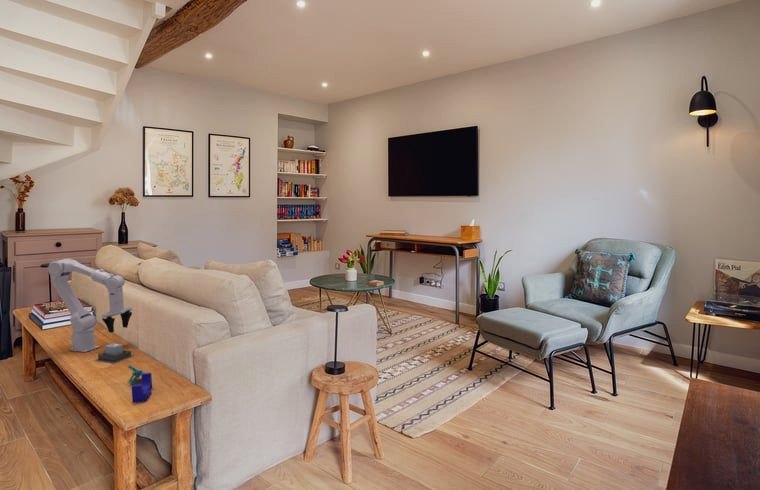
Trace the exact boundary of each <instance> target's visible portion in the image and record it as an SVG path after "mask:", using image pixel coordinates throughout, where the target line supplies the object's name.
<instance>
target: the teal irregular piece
mask: <svg viewBox="0 0 760 490" xmlns="http://www.w3.org/2000/svg"><path fill="white" fill-rule="evenodd" d="M127 367H128V368H129V369H130V370H132V375H131V376H130V377H129V379H128V380H129V385H131V386H133V385H134V383H135V382H136V381H137V380H138V379H139V378H140V377H141V376H142V374H143V373H144V371H143V370H141V369H136V368H135V367H134V366H132V365H128V366H127Z"/></svg>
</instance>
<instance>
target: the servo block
mask: <svg viewBox="0 0 760 490" xmlns="http://www.w3.org/2000/svg"><path fill="white" fill-rule="evenodd" d="M123 350H124V346H123V344H121V343H119V344H118V343H115V342H114V343H109V344H107V345H104V352H105V355H110V356H117V355H120V354H123Z"/></svg>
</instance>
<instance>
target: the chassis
mask: <svg viewBox="0 0 760 490" xmlns="http://www.w3.org/2000/svg"><path fill="white" fill-rule="evenodd" d="M131 352H132V351H130V350H127V349H126V350H124V349H123V354H120V355H117V356H110V355H105V351H104V352H101V353H99V354H97V357H98V358H97V359H95V360H94V361H95V362H101V363H106V364H111V365H112V364H114V365H115V364H117V363H119V362H122V361H125V360H127V359H130V358H132V357H134V356H135V355H134V354H132V353H131Z"/></svg>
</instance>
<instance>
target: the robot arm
mask: <svg viewBox="0 0 760 490" xmlns="http://www.w3.org/2000/svg"><path fill="white" fill-rule="evenodd" d="M47 272H48V273H49V276H50V282H51V284H52V286H53V287H54V289H55V290H56V291H57V294H58V295H59V297H60V298H61V300H62V302H63V303H64V305H65V307H66V308H67V310H68V311H69V313H70V315H71V316H70V319H69V322H70V324H71V329H72V330H73V332H72V333H71V335H70V336H71V337H70V339H71V340H70V341H71V348H70V351H75V352H81V353H87V352H89V351H92V350H94V349H99V348H100V347H101V346H100V345H98V344H97V345H96V338H95V337H96V336H95V326H96V325H97V323H98V319H97V317H96V316H95V315H94V314H93V313H91V311H90V310H88V309H85V308H84V306H83V304H82V303H81V302H80V300H79V298H78V296H77V295H76V293H75V292H74V290H73V287H71V285H70V283H69V282H68V278H69V277H70V275H71V274H72V273H73V272H76V273H78V274H82V275H84V276H87V277H90V278H91V281H93V282H95V283H98V284H101V285H102V286H105V288H106V289H107V293H108V304H109V311H107V312H104V313H102V314H101V320H102V322H103V323H104V324H105V326H106V328H107V330H108V333H114V331H115V330H114V329H115V328H114V327H115V326H114V325H115V320H116V318H114V316H119V315H120V317H121V324H122V328H125V329H127V328H128V326H129V321H130V320H131V319H130V318H131V317H132V315H133V312H132V310H133V308H132V307H131V306H126V307H125V306H124V304H125V303H124V291H123V286H124V285H125V283H126V281H125V278H124V277H123V276H121V275H119V274H116V275H114V273H109V272H106V271H105V269H103V268H101V269H94V268H91V267H89V266H87V265H85V264H82V263H80V262H78V261H77V260H75V259H72V258H70V257H67V258H64V259H61V260H60V259H59V260H53V261H51V262H50V263H49V265H48V268H47Z"/></svg>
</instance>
